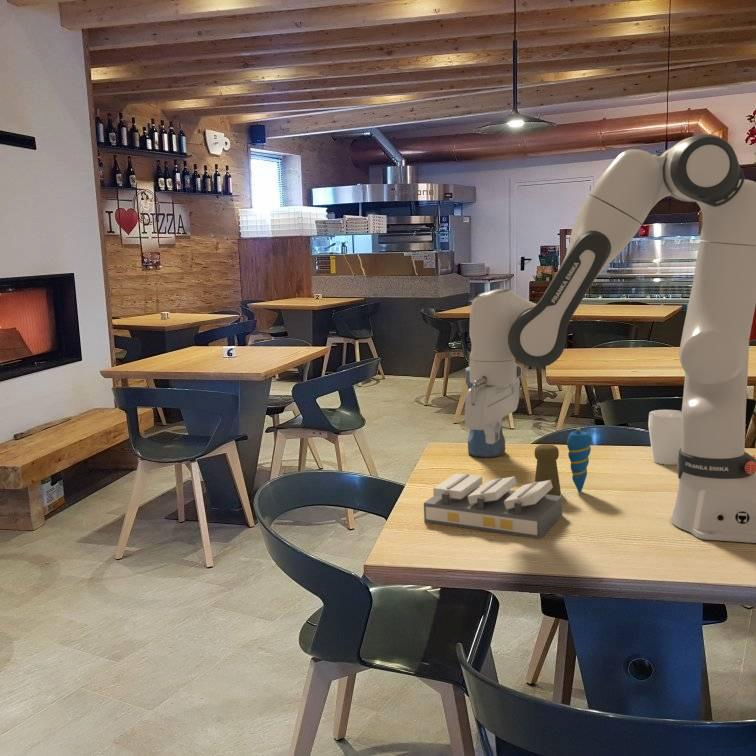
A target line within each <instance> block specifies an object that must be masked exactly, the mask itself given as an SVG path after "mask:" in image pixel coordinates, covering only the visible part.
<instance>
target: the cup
mask: <svg viewBox="0 0 756 756" xmlns="http://www.w3.org/2000/svg"><path fill="white" fill-rule="evenodd" d="M681 422H682V410H677V409H657V410H656V409H655V410H651V411H649V413H648V424H647V425H648V432H649V441H650V446H651V455H652V456H651V457H652V461H653V462H654V463H655V464H658V463H659V465H663V464H664V465H665V466H666V465H667V466H673V465H674V466H676V465H678V454H679V450H680V448H681Z"/></svg>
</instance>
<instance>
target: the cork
mask: <svg viewBox="0 0 756 756" xmlns="http://www.w3.org/2000/svg"><path fill="white" fill-rule="evenodd" d="M533 452H534V453H533V455H534V458H535V459H536V467H535V474H534V482H542V481H547V480H551V483H552V486H553V488H552V489H551V490H550V491H549V492H548V493H546V494H548V495H556V496H562V491H561V485H560V476H559V471H558V464H557V460H558V458H559V455H560V451H559V449H558V446H556V445H554V444H549V443H545V444H544V443H543V444H538V445H537V446H536V447H535V449H534V451H533Z"/></svg>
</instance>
